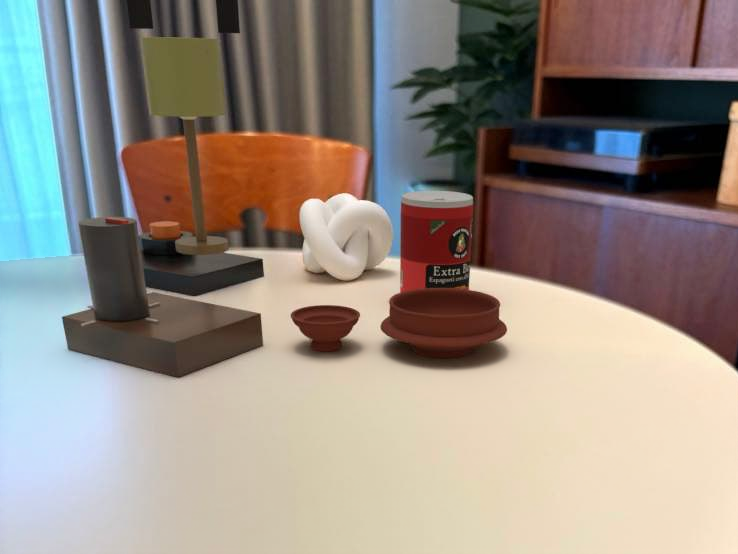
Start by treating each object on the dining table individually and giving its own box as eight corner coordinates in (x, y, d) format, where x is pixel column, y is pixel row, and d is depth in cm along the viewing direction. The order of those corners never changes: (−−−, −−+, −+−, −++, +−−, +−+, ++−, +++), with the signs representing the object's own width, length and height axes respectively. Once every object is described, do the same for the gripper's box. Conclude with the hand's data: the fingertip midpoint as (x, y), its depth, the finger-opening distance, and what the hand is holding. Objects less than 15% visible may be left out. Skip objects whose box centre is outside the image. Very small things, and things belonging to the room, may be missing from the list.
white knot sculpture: (361, 290, 96) (359, 208, 92) (273, 279, 101) (268, 200, 96) (401, 271, 105) (402, 195, 101) (319, 262, 110) (317, 189, 105)
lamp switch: (145, 239, 103) (143, 224, 102) (166, 234, 106) (164, 220, 105) (166, 242, 101) (164, 227, 101) (187, 237, 104) (185, 223, 103)
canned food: (431, 313, 88) (435, 203, 83) (385, 298, 93) (385, 193, 88) (483, 302, 92) (489, 197, 87) (436, 288, 98) (439, 188, 92)
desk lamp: (152, 251, 95) (123, 37, 84) (201, 240, 101) (180, 39, 90) (203, 259, 91) (180, 37, 81) (251, 248, 97) (235, 39, 86)
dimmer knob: (83, 316, 75) (65, 218, 70) (124, 304, 78) (109, 211, 74) (120, 324, 72) (103, 224, 68) (160, 312, 76) (147, 216, 72)
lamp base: (96, 278, 100) (90, 243, 98) (170, 260, 109) (166, 228, 107) (194, 297, 93) (190, 260, 91) (265, 276, 102) (263, 242, 100)
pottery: (511, 369, 73) (515, 319, 70) (284, 366, 73) (281, 316, 70) (499, 331, 83) (502, 286, 80) (300, 328, 83) (297, 283, 80)
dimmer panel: (55, 350, 75) (47, 316, 74) (153, 321, 84) (149, 289, 83) (169, 380, 69) (164, 343, 67) (263, 345, 78) (260, 311, 76)
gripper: (88, -264, 71) (125, 26, 82) (274, -195, 90) (284, 35, 100) (32, -252, 74) (74, 26, 85) (222, -187, 93) (237, 34, 104)
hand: (187, 31), depth 93 cm, fingers open, 13 cm apart
